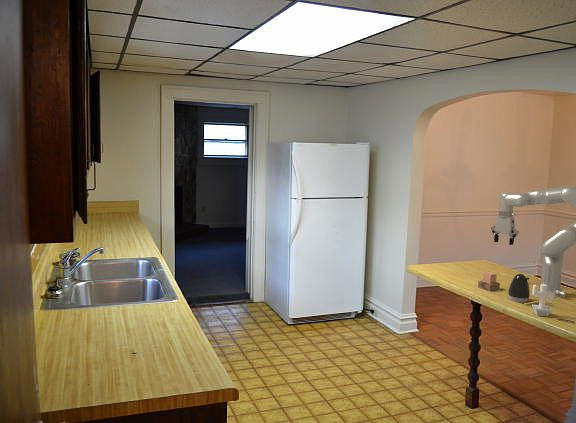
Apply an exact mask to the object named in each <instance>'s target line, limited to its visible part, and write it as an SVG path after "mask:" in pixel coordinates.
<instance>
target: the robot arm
mask: <svg viewBox="0 0 576 423" xmlns="http://www.w3.org/2000/svg"><path fill="white" fill-rule="evenodd" d="M564 203H567V204H568V205H569V206H571V207H573V208H575V209H576V185H568V186H567V185H566V186H559V187H553V188H546V189H541V190H537V191H529V192H528V191H527V192H519V193H512V192H501V193H500V194H499V207H498V216H497V217H496V220H495V221H496V222H495V225H492V226H491V227H490V229H491V233H492V234H493V242H494V243H499V234H503V235H504V234H505V235H508V236H509V241H508V245H509V246H514V243H515V238H516V237H517V236H518V235H519V233H520V231H519V230H518V229H516V223H515V220H516V219H515V217H514V216H515V215H516V214H515V212H514V207H518V208H521V207H527V206H534V205H555V204H564ZM575 244H576V220H575V221H574V222H572V223H571V224H569V225H568V226H565V227H564V228H562V229H560V230H559V231H557V233H555V234H554V235H552V236H551V237H550V238H549V239H547V240H545V241H544V242H543V243H542V245H541V248H540V251H541V254H543V260H542V268H541V269H542V270H541V279H540V280H541V281H540V285H541V284H545V285H547V289H546V292H553V294H554V297H555V298H561V297H563V296H564V297H565V296H566V294H567V292H566V291H564V290H563V288H562V287H561V283H562V282H561V281H562V280H561V279H562V274H563V273H562V271H563V263H564V256H565V251H568V250H569V249H570V248H571V247H573V246H574V245H575ZM537 291H540V289H537Z"/></svg>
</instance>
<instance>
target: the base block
mask: <svg viewBox="0 0 576 423" xmlns="http://www.w3.org/2000/svg"><path fill="white" fill-rule="evenodd" d="M477 283H478V284H477V289H478V288H479V289H478V290H481V289H483V290H482V291H484V290H486V291H485V292H487V291H489V292H488V293H492V292H491V291H495V292H498V291H497V290H501V287H500V286H501V283H500V282H498V281H496V283H491V284H489V283H486V282H483V279H482V280H478V281H477Z"/></svg>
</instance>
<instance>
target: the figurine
mask: <svg viewBox="0 0 576 423" xmlns="http://www.w3.org/2000/svg"><path fill="white" fill-rule="evenodd" d="M537 287H538V286H537V285H536V284H533V285H532V296H533V297H538V298H539V301H538V304H533V303H532V304H531V306H532V308H533V311H534V313H535V315H536V316H537V317H539V316H540V317H548V316H549V315H550V314H551V312H552V311H553V310H552V308H551V307H549V305H546V298H549V299H548V303H550V304H553V303H554V298H555V296H554V294H553V292H546V289H547V285H545V284H541V283H540V287H539V290H540V291H537V290H538V289H537Z"/></svg>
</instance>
